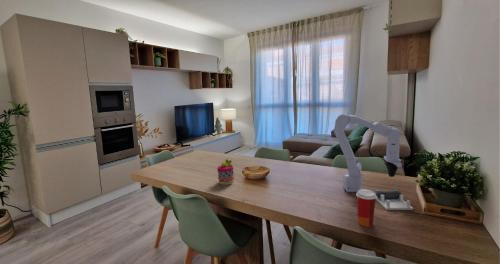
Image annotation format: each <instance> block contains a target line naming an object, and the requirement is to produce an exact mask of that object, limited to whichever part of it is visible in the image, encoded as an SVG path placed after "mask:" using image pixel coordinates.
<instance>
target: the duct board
mask: <svg viewBox="0 0 500 264" xmlns="http://www.w3.org/2000/svg"><path fill="white" fill-rule="evenodd" d="M378 191H379V190H378V189H375V190H374V193H375V194H376V193H377V192H378ZM392 191H397V189H393V190H392ZM375 201H377V202H378V203H379V205H381V206H382V208H384V209H385V211H414V207H413V206H411V200H410V199H406V201H405V200H404V194H402V193H401V194H399V198H384V195H380V198H378V197H376V199H375Z"/></svg>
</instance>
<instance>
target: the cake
mask: <svg viewBox="0 0 500 264" xmlns="http://www.w3.org/2000/svg"><path fill="white" fill-rule="evenodd" d="M232 162H233V160H231V159H228V158H227V159H225V160H224V161H222V162H221V165H219V166H217V176H218V177H217V179H218V185H220V184H222V185H221V186H223V185H226V186H229V185H228V184H231V185H233V184H234V183H233V182H235V181H234V180H235V175H234V166H233V164H232ZM232 183H233V184H232Z"/></svg>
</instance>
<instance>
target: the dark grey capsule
mask: <svg viewBox="0 0 500 264" xmlns="http://www.w3.org/2000/svg"><path fill="white" fill-rule="evenodd" d="M399 194H402V192H401V191H399V190H396V191H393V190H381V191H380V190H378V192H377V193H376V196H377V197H378V198H380V195H384V198H399Z"/></svg>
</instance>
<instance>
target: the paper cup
mask: <svg viewBox="0 0 500 264" xmlns="http://www.w3.org/2000/svg"><path fill="white" fill-rule="evenodd" d="M355 193H356V194H355V196H356V203H357V205H356V206H357V208H356V209H357V222H358V224H359V225H360V226H362V227H366V228H370V227H372V226H373V224H374V217H375V216H374V214H375V208H376V207H375V205H376V197H377V196H376V194H375V191H373V190H369V189H366V188H365V189H364V188H362V189H361V190H358V192H355Z"/></svg>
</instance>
